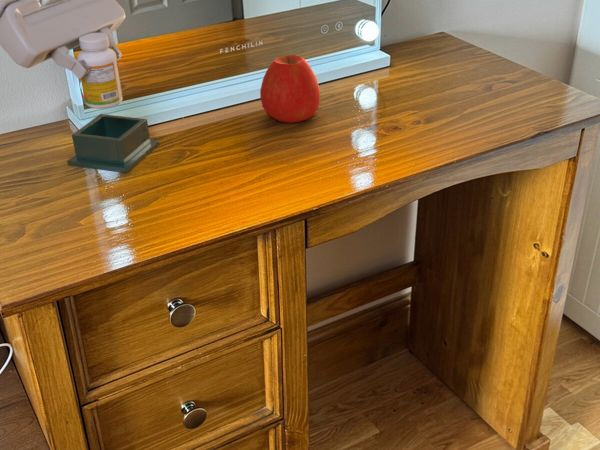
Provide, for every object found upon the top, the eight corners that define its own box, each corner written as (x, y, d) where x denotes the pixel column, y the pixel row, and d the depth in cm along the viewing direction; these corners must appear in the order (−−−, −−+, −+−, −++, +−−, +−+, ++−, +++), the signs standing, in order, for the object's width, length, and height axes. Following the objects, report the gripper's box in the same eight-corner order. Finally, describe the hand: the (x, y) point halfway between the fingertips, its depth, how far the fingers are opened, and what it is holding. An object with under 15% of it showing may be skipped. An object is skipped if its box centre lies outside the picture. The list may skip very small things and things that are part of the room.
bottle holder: (68, 165, 118) (62, 136, 116) (103, 137, 127) (98, 110, 124) (127, 173, 115) (122, 144, 113) (159, 144, 124) (155, 117, 121)
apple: (280, 100, 138) (277, 43, 133) (331, 109, 134) (330, 51, 129) (251, 121, 131) (246, 62, 125) (304, 131, 126) (302, 70, 121)
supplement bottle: (95, 94, 114) (84, 30, 109) (129, 96, 113) (119, 31, 108) (78, 108, 110) (66, 41, 104) (113, 110, 108) (103, 43, 103)
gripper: (76, -13, 117) (136, 57, 118) (-28, 24, 101) (42, 104, 103) (94, -41, 113) (156, 32, 114) (-12, -7, 97) (61, 77, 99)
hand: (101, 67), depth 108 cm, fingers closed on supplement bottle, 5 cm apart
